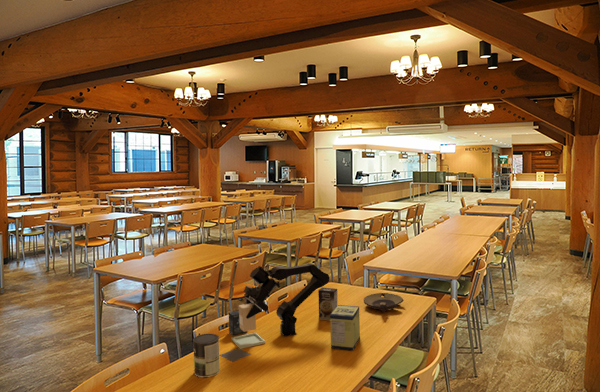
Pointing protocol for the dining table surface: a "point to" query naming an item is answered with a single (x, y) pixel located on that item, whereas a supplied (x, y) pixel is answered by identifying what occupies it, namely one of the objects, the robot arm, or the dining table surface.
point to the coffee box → (327, 302)
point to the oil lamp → (383, 301)
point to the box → (235, 323)
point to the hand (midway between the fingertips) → (244, 316)
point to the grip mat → (235, 354)
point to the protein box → (345, 327)
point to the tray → (248, 340)
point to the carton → (244, 322)
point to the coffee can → (206, 355)
